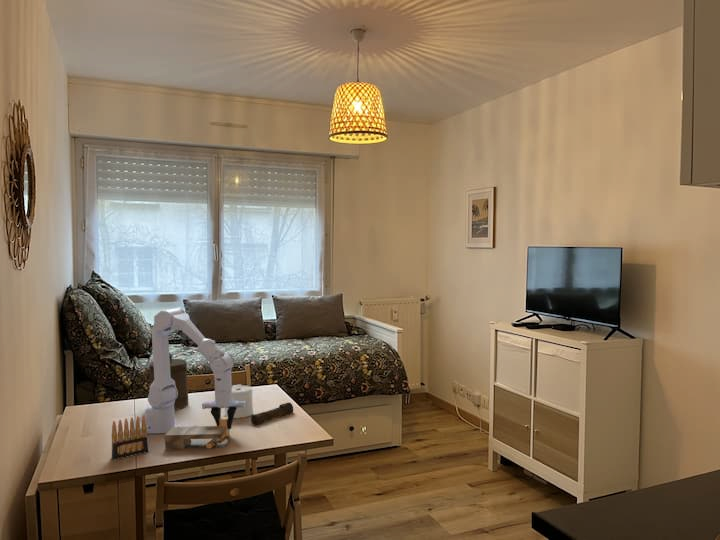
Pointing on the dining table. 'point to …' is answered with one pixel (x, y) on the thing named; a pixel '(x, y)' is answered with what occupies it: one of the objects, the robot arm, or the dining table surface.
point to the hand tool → (272, 413)
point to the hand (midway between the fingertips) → (224, 428)
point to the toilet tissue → (242, 395)
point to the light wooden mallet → (223, 422)
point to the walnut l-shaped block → (191, 435)
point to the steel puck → (221, 442)
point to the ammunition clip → (129, 439)
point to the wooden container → (176, 380)
